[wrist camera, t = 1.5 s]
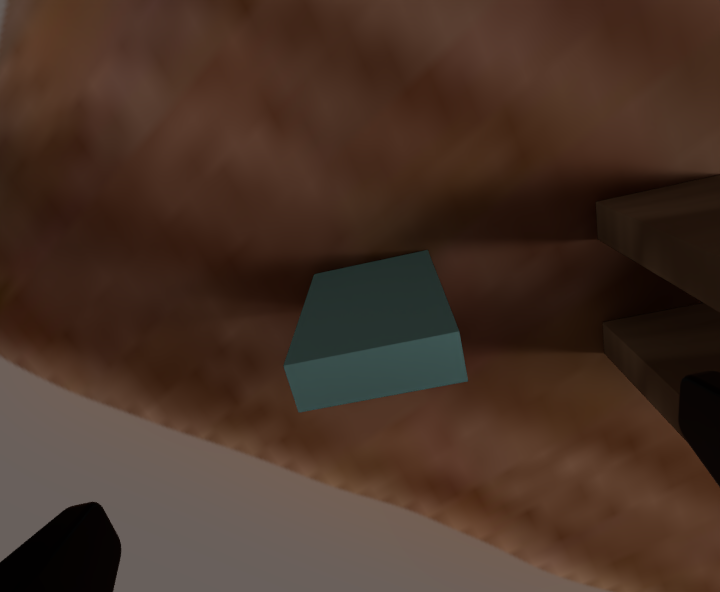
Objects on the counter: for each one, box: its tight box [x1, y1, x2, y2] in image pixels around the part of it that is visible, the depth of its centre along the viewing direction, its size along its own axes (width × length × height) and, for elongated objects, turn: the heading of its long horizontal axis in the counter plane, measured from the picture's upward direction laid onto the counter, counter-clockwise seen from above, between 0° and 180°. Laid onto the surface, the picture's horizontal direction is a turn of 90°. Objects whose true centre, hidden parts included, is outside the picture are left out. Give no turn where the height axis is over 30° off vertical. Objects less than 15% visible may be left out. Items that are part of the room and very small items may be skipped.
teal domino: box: [284, 250, 468, 412], centre depth 18 cm, size 2×5×8 cm, turn 103°
